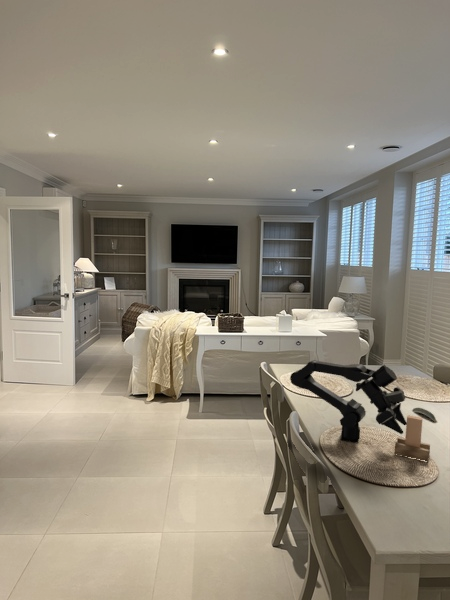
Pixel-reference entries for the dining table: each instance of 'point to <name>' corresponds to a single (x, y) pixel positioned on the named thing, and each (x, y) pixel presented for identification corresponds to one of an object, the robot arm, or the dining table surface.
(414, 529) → the dining table surface
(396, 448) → the tan u-shaped channel
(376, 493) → the dining table surface
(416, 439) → the clay block
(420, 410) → the ceramic fragment
